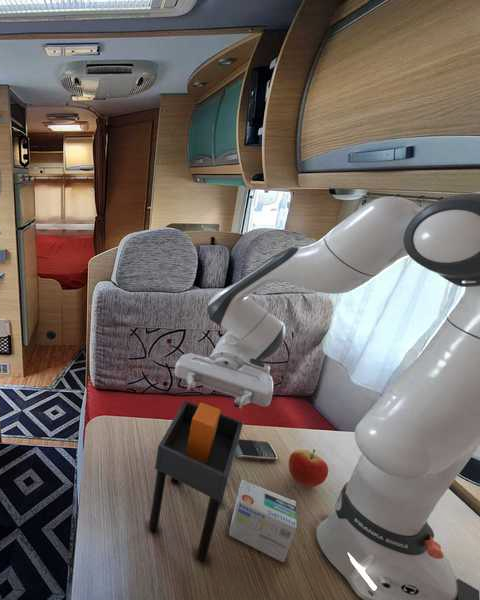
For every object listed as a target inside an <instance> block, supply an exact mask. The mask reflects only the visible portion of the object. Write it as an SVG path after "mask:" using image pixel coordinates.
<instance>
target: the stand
mask: <svg viewBox="0 0 480 600" xmlns="http://www.w3.org/2000/svg"><path fill="white" fill-rule="evenodd" d="M166 476H167V475H166V474H164V473H162V472H160V471H158V470H156V477H155V483H154V489H153V490H154V491H153V496H152V505H151V511H150V518H149V525H148V530H150V531H151V532H152V533H156V532H157V531H158V530H159V529H158V528H159V521H160V516H161V509H162V503H163V496H164V491H165V483H166V478H167V477H166ZM170 478H171V479H170V481H171V483H172V484H174V485H177V484H179V482H180V481H178V480H176V479H174V478H172V477H170ZM226 488H227V487H226ZM226 488H225V490H226ZM224 496H225V494H224V495H223V497H224ZM223 501H224V498H223V499H222V502H219V501H217V500H215V499H213V498H211V497H209V501H208V504H207V509H206V513H205V517H204V523H203V526H202V531H201V535H200V539H199V544H198V549H197V553H196V558H197V560H198V561H199V562H200V563H205V562H206V561H207V558H208V554H209V549H210V545H211V542H212V538H213V533H214V530H215V525H216V521H217V517H218V515H219V514H218V513H219V509H220V507H221V506H222V504H223Z"/></svg>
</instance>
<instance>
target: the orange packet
mask: <svg viewBox="0 0 480 600" xmlns="http://www.w3.org/2000/svg"><path fill="white" fill-rule="evenodd" d="M198 405H199V406H198V408H197V410H196V412H195V414H194V416H193V418H192V423H191V429H190V434H189V440H188V445H187V451H186V456H188V457H190V458H192V459H194V460H196V461H199V462H201V463H203V464H205V465H206V464H207V461H208V458H209V456H210V453H211V450H212V447H213V443H214V438H215V434H216V429H217V425H218V420H219V416H220V414H221V410H222V409H220V408H219V407H218V408H217V407H216V406H215V407H214V406H212V405H209V404H207V403H204V402H199V404H198Z"/></svg>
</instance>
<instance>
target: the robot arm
mask: <svg viewBox="0 0 480 600" xmlns="http://www.w3.org/2000/svg"><path fill="white" fill-rule="evenodd" d="M408 257H409V258H411V260H413V262H415V263H416V264H418V265H419V266H421V267H423V268H425V270H428V271H430V272H432V273H434V274H436V275H438V276H440V277H441V278H443V279H445V280H446V281H448V282H449V283H451V284H453V285H454V286H457V287H461V288H463V289H462V292H461V295H460V296H459V298H458V299H457V301H456V303H455V304H454V306H453V307H452V308H451V309H450V311H449V312H448V314H447V315H446V316H445V317H444V319H443V321H442V322H441V324H440V325H439V326H438V327H437V329H436V330H435V332H434V333H433V334H432V336H431V337H430V339H429V340H428V342H427V343H426V345H425V346H424V348H423V349H422V350H421V352H419V354H418V355H417V356H416V358H415V359H413V361H412V362H411V363H410V364H409V365H408V366H407V368H406V369H404V371H403V372H402V373H400V375H399V376H398V377H397V378H396V379H395V380H394V381H393V383H391V385H389V387H388V388H387V389H386V390H385V391H384V393H383V394H382V395H381V396H380V398H378V399H377V400H376V402H375V403H374V404H373V406H372V407H371V408H370V409H369V410H368V412H367V413H366V414H365V415H364V416H363V417H362V418H361V419H360V421H359V422H358V423H357V424H356V426H355V430H354V440H355V443H356V445H357V448H358V449H359V451H360V453H361V455H360V456H359V458H358V460H357V463H356V465H355V467H354V469H353V472H352V473H351V476H350V478H349V480H348V481H347V482H346V483H345V484H344V485H343V487H342V489H341V490H340V491H339V494H338V496H337V497H336V500H335V506H334V509H333V510H332V512H330V514H329V515H328V516H327V517H326V518H325V519H324V520H322V521H321V522H320V523H318V524H317V527H316V539H317V542H318V545H319V547H320V549H321V551H322V552H323V554H324V555H325V557H326V558H327V560H328V561H329V562H330V563H331V564H332V566H334V567H335V569H336V570H337V571H338V572H339V573H340V574H341V575H342V576H343V577H344V578H345V579H346V580H347V582H348V584H349V585H350V587H351V588H352V590H353V591H354V593H355V594H356V595H357V596H358V597H359V598H360V599H362V600H480V590H479V589H477V588H475V587H474V586H472V585H470V584H469V583H468V582H467V583H466V582H465V581H464V580H462V579H460V578H457V577H456V574H455V572H454V570H453V567H452V565H451V563H450V561H449V559H448V558H447V556H446V554H445V552H443V551H442V549H441V548H442V546H441V545H440V544H439V542H436V541H434V538H435V533H434V530H433V528H432V527H431V526H430V525H429V521H428V519H429V518H430V516H431V515H432V513H433V511H434V510H435V508H436V506H437V504H438V503H439V502H440V500H441V498H442V497H443V496H444V495H445V493H447V491H448V490H449V488H450V487H451V485H452V484H453V483H454V482H455V480H456V479H457V478H458V476H459V475H460V474H461V472H462V471H463V469H464V468H465V467H466V465H467V464H468V462H469V461H470V460H471V458H472V457H473V456H474V453H475V452H476V451H477V450H478V448H479V447H480V191H475V192H474V191H473V192H468V193H459V194H456V195H454V194H453V195H451V196H447V197H444V198H441V199H438V200H437V201H434V202H433V203H431V204H429V205H427V206H425V207H423V206H421V205H419V204H417V203H415V202H414V201H412V200H410V199H408V198H404V197H401V196H394V195H393V196H391V195H389V196H388V195H386V196H382V197H377V198H375V199H373V200H371V201H370V202H368V203H366V204H365V205H363V206H362V207H360V208H358V209H357V210H355V211H354V212H352V214H350V215H348V216H347V217H346V218H344V219H343V220H342V221H341V222H340V223H338V224H337V225H336V226H334V227H333V228H332V229H331V230H330V231H329V232H327V234H326V235H324V236H323V237H322V238H320V239H319V240H318V241H316V242H314V243H312V244H309V245H307V246H302V247H295V246H290V247H287V248H285V249H283V250H280V251H279V252H277V253H276V254H274V255H273V256H271V257H270V258H268V259H267V260H265V261H264V262H262V263H261V264H259V265H258V266H256V267H255V268H254V269H252V270H251V271H249V272H248V273H247V274H245V275H243V276H242V277H240V279H238V280H237V281H235V282H234V283H232V284H230V285H229V286H227V287H225V288H223V289H221V290H219V291H217V293H216V294H214V295H213V296H212V297H211V299H210V300H209V302H208V303H207V305H206V306H207V308H206V309H207V315H208V318H209V320H210V321H212V322H213V323H214V324H216V325H217V326H219V327H222V328H223V329H224V330H225V331H226V332H225V333H223V335H222V336H221V337H220V338H219V340H218V342H216V345H215V347H214V349H213V350H212V352H211V353H210V355H209V357H207V356H203V355H199V354H196V353H191V352H189V353H184V354H182V355H181V356H180V358H179V359H178V360H177V361H176V362H175V366H174V375H175V376H176V378H179V379H182V380H185V381H186V383H187V388H186V390H188V391H189V392H195V391H196V390H197V385H200V386H202V387H205V388H208V389H210V390H214V391H217V392H220V393H222V394H226V395H228V396H231V397H234V398H235V400H234V404H233V407H235V408H238V409H240V410H242V409H243V406H244V405H248V404H250V403H252V404H254V405H257V406H260V407H262V408H266V407H269V406H270V405H271V402H272V398H273V394H274V380H273V378H272V376H271V374H270V372H271V366H270V365H268V364H266V363H264V362H261V361H262V360H266V359H268V358H269V357H271V356H272V355H273V354H275V352H276V351H277V350H279V348H280V347H281V346H282V344H283V343H284V340H285V337H286V326H285V322H283V321H282V320H280V319H279V318H278V317H276V316H275V315H274V314H272V313H271V312H270V311H268V310H266V309H265V308H263V307H262V306H261V305H260V304H258V303H257V302H255V301H254V300H253V299H252V298H251V297H250V295H252V294H253V293H255V292H257V291H258V290H261V288H263V287H265V286H266V285H269V284H270V283H276V282H277V283H279V282H280V283H287V284H292V285H295V286H299V287H302V288H305V289H308V290H311V291H314V292H316V293H317V292H318V293H321V294H322V293H323V294H328V295H329V294H332V295H337V294H338V295H339V294H340V295H341V294H346V293H351V292H354V291H356V290H357V289H360V288H362V287H363V286H365V285H367V284H369V283H370V282H371V281H373V280H374V279H375V278H377V277H378V276H380V275H381V274H382V273H384V272H386V271H387V270H388V269H390V268H391V267H393V266H394V265H395V264H397V263H398V262H401V261H402V260H405V259H406V258H408Z"/></svg>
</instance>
